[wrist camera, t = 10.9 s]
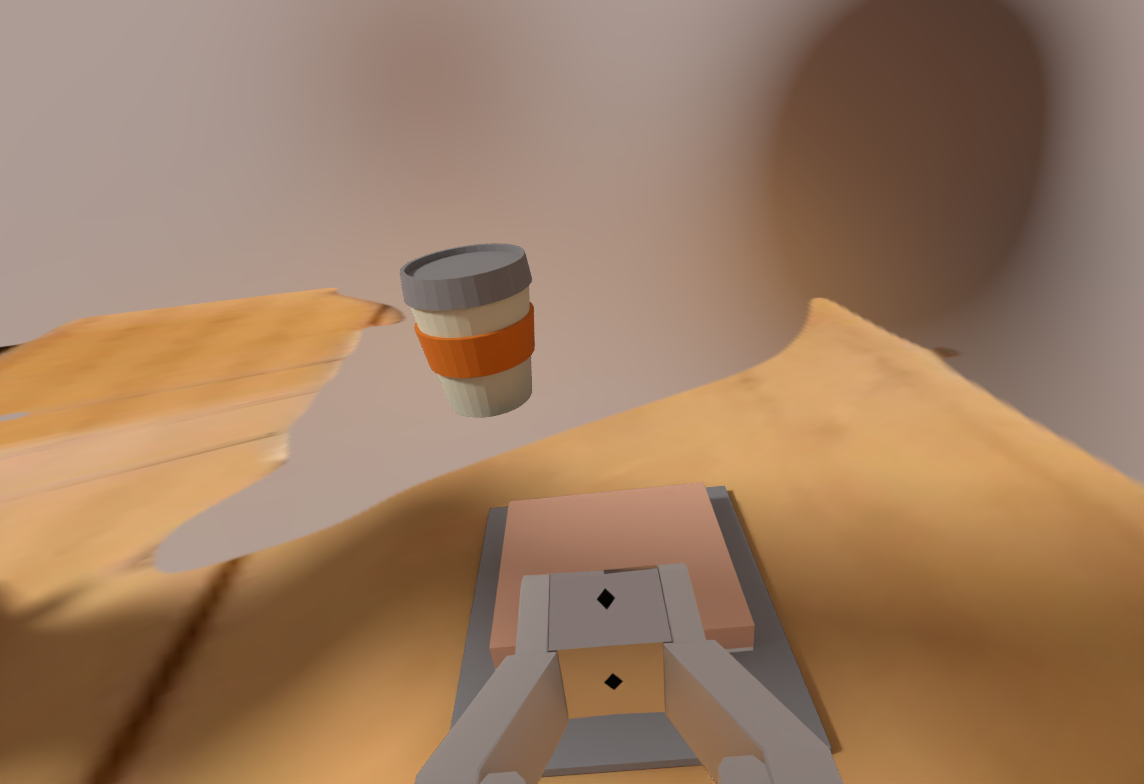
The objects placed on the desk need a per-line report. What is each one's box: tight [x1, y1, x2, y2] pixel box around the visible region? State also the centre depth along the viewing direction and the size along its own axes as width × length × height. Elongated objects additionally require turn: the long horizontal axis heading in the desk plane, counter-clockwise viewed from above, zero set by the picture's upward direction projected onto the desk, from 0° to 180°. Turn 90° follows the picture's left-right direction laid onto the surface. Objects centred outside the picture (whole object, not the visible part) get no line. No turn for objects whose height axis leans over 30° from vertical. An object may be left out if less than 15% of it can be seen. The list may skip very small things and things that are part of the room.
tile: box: [489, 482, 755, 670], centre depth 35 cm, size 2×14×12 cm
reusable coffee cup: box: [400, 244, 535, 418], centre depth 57 cm, size 13×12×15 cm
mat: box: [450, 486, 832, 777], centre depth 34 cm, size 19×18×1 cm
